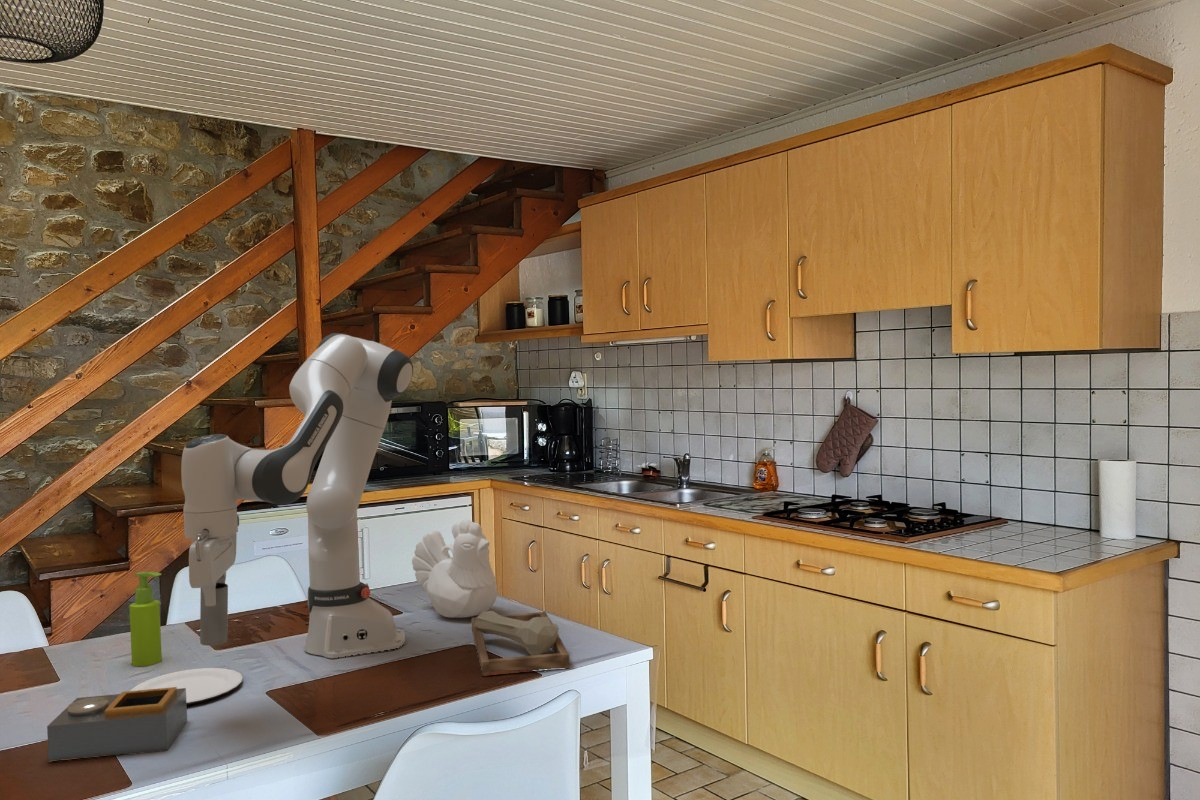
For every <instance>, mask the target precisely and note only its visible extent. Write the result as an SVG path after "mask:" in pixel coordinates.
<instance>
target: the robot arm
mask: <svg viewBox="0 0 1200 800" xmlns="http://www.w3.org/2000/svg"><path fill="white" fill-rule="evenodd" d="M413 375H414V365H413V362H412V359H411V357H410V356H408V355H407V354H405V353H404V352H402V351H400V350H398V349H393V348H391V347H389V346H386V345H384V344H383V343H380V342H376V341H373V340H367V339H364V338H361V337H356V336H352V335H348V334H347V333H341V332H340V333H339V332H331V333H330V334H328V335H326V336H325V337H323V338H322V339H321V340H320V342H319V343H318V344H317V346H316V349H315V350H314V351H313V352H312V353H311V355H309V357H308V358H306V360H305V361H304V362H303V363H302V365H301V366H300V367H299V368H298V369H297V371H296V372H295V373H294V375H293V377H292V379H291V381H290V382H289V383H290V384H289V387H288V388H289V396H290V398H291V401H292V403H293V405H294V406H295V407H296V408H297V409H298V411H299V412H300V413H302V414H303V415H304V418H302V420H301V422H300V424H299V426H298V427H297V428H296V431H295V432H294V434H293V435H292V437H291V438H290V440H289V442H287V443H286V444H285V445H283V446H280V447H278V448H274V449H260V448H257V449H256V448H252V447H248V446H246V445H242V444H240V443H238V442H237V441H235V440H233V439H231V438H230V437H229V435H227V434H223V433H216V434H215V433H213V434H208V435H202V436H199V437H198V436H197V437H195V438H192V439H191V440H189V441H188V442H187V443H186V444H184V448H183V450H182V455H181V464H180V465H181V468H180V469H181V470H180V471H181V472H180V473H181V488H182V491H183V494H184V505H183V509H182V510H183V512H182V513H183V527H184V528H183V531H184V538H186V539H189V540H192V543H191V544H190V546H189V549H188V583H189V585H190V588H191V589H201V588H202V591H203V594H204V597H205V605H206V606H215V605H216V603H217V602H218V600H217V594H216V588H215V586H216V583H225V584H226V578H227V572H228V570H230V568H231V567H233V565H234V564H235V561H236V557H237V535H238V531H239V526H240V516H239V514H238V508H237V507H238V506H237V501H238V500H246V501H253V502H264V503H265V502H266V503H270V504H273V505H279V506H280V505H281V506H286V505H291V504H293V503H295V502H297V501H298V500H299V499H300V498H301V497H303V495H304V494H305V492H306V490H307V489H308V486H309V484H310V481H311V477H312V475H313V471H314V468H315V466H316V464H317V462H318V460H319V458H320V457H321V455H322V457H321V459H320V462H319V465H318V468H317V470H316V473H315V476H314V480H313V482H312V484H311V486H310V487H309V489H308V492H307V498H306V505H305V506H306V512H307V523H308V524H307V531H308V533H307V534H308V535H307V536H308V543H307V544H308V571H309V586H308V588H307V609H308V613H309V618H308V619H309V620H308V621H309V622H308V630H307V636H306V639H305V641H306V642H305V645H304V651H305V653H308V654H311V655H315V656H322V657H324V658H328V659H338V657H339V658H344V657H345V656H346V657H352V656H351V655H353V656H358V655H357V654H360V655H364V654H363V653H367V654H372V653H371V652H374V653H379V652H378V651H381V652H385V651H384V650H388V651H391V650H390V649H395V648H398V647H400V646H401V647H403V646H404V645H405V643H406V641H405V640H407V638H406V633H405V632H404V631H403V630H401V629H399V628H396V622H395V618H394V616H393V614H392V612H391V610H389V609H388V608H386V607H384V606H383V605H381V604H379V603H378V602H377V601H375V600H374V599H372V598H370V595H371V589H370V586H369V583H364V582H361V579H360V578H361V577H360V576H361V575H360V550H359V549H360V547H359V532H358V508H359V506H360V503H361V500H362V496H363V493H364V491H365V488H366V485H367V481H368V479H369V475H370V472H371V469H372V466H373V462H374V459H375V456H376V454H377V451H378V449H379V448H378V447H379V445H380V442H381V440H382V437H383V434H384V431H385V429H386V425H387V423H388V419H389V415H390V412H391V408H392V401H393V400H394V399H396V398H398V397H400V396H401V395H403V394H404V393H405V392H406V391H407V390H408V388H409V386H410V384H411V382H412V379H413ZM404 642H405V643H404ZM403 644H404V645H403ZM402 645H403V646H402ZM401 647H400V648H401ZM398 649H399V648H398ZM395 650H396V649H395ZM346 657H345V658H346Z"/></svg>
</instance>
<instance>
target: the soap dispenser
mask: <svg viewBox="0 0 1200 800" xmlns="http://www.w3.org/2000/svg"><path fill="white" fill-rule="evenodd" d="M160 576H162V573H160V572H158V571H157V572H156V571H140V572H136V573H135V574H134V577H138V583H139V585H138V586H137V587H136V588H135V590H134V593H135V602H133V603H132V602H131V603H130V604H129V625H130V627H129V628H130V651H131V652H130V653H131V655H130V656H131V665H132V666H134V667H138V666H140V667H148V665H149V666H152V665H157V664H159V663H160V662H161V661H162V659H163V657H162V638H161V637H162V632H161V631H162V630H161V611H160V610H161V608H160V606H161V605H160V600H158V599H157V600H156V599H154V596H153V595H154V592H153V585H150V584H149V577H151V578H158V577H160Z"/></svg>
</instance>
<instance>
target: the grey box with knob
mask: <svg viewBox="0 0 1200 800" xmlns="http://www.w3.org/2000/svg"><path fill="white" fill-rule="evenodd" d="M187 705H188V704H187V703H186V688H181V689H177V687H171V688H159V689H148V690H137V691H130V690H129V691H122V692H121V693H118V694H117V693H115V694H105V695H96V696H95V695H94V696H84V697H76V698H75V700H73V701H72V702H71V703H69V704H68V706H67V707H66V708H65V709H64V710H63V711H61V713H60V714H59V715H57V717H55V718H54V719H52V721H51V722H50V723H49V724H48V725H46V729H47V733H46V734H47V751H48V753H47V754H48V762H49V761H51V760H61V759H71V758H84V757H93V756H94V757H95V756H102V755H103V756H104V755H117V756H120V755H119V754H126V755H134V754H133V753H136V754H142V753H141V752H146V753H153V752H152V751H155V752H161V751H160V750H165V751H168V750H169V749H170V748H171V746H172V744H173V743H174V741H175V739H177V737H178V735H179V734H180V733H181V731H182V729H183V728H184V726H185V725H186V723H187V722H188V709H187ZM168 748H169V749H168ZM150 751H151V752H150ZM131 753H132V754H131Z"/></svg>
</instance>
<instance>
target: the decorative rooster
mask: <svg viewBox="0 0 1200 800" xmlns="http://www.w3.org/2000/svg"><path fill="white" fill-rule="evenodd" d="M451 533H452V535H453V539H454V542H453V544H452V543H448V544H446V542H445V540H444V537H443V535H442V534H441V532H440V531H438V530H431V531H429V532H428V533H426V534H424V536H422V539H421V540H420V541H418V542H417V544H416V546H415V549H414V555H413V557H412V559H411V565H412V569H413V571H414V576H415V579H416V580H415V581H416V583H417V584H419V586H422V589H423V590H424V592H425V593H427V595H428V599H429V601H430V602H431V605H432V607H433V608H434V610H435V611H436V612H437V613H438V614H439V615H441V616H443V617H445V618H450V619H451V618H452V619H454V618H456V619H457V618H460V619H461V618H470V617H471V618H472V617H477V616H479V615H480V614H481V613H482V612H483V611H489V610H490V609H491V608H492V607H493V606H494V604H495V603H496V601H497V598H498V587H497V580H496V576H495V574H494V571H493V569H492V566H491V563H490V549H489V547H490V541H489V540H487V538H486V536H485V534H484V533H483V528H482V526H481V524H479V523H478V522H473V521H472V520H469V519H464V520H461V521H460V522H459V521H458V522H455V523H454V524H453V525H452V527H451ZM449 551H450V552H451V553H452V554H451V555H452V557H451V555H450V553H449Z"/></svg>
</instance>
